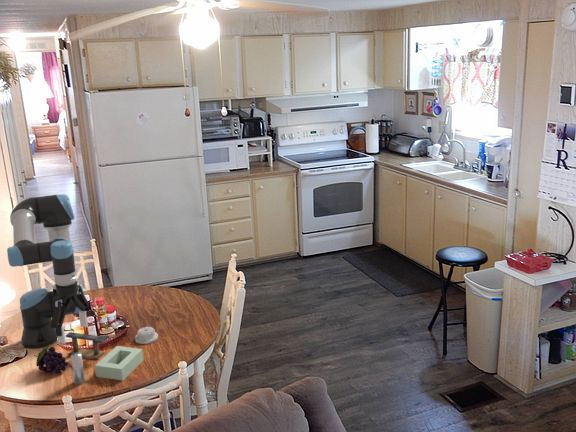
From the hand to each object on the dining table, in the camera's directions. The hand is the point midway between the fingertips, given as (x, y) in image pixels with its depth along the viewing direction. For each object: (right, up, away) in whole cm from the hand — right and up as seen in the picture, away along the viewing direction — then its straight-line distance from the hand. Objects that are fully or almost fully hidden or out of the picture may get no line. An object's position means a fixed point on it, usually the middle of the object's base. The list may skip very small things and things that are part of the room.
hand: (73, 334), depth 213 cm
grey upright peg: (0, -20, +6) cm, 21 cm away
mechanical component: (+18, -10, +39) cm, 44 cm away
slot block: (+13, -17, +15) cm, 26 cm away
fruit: (-14, -18, +15) cm, 27 cm away
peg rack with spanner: (-3, -14, +26) cm, 29 cm away
